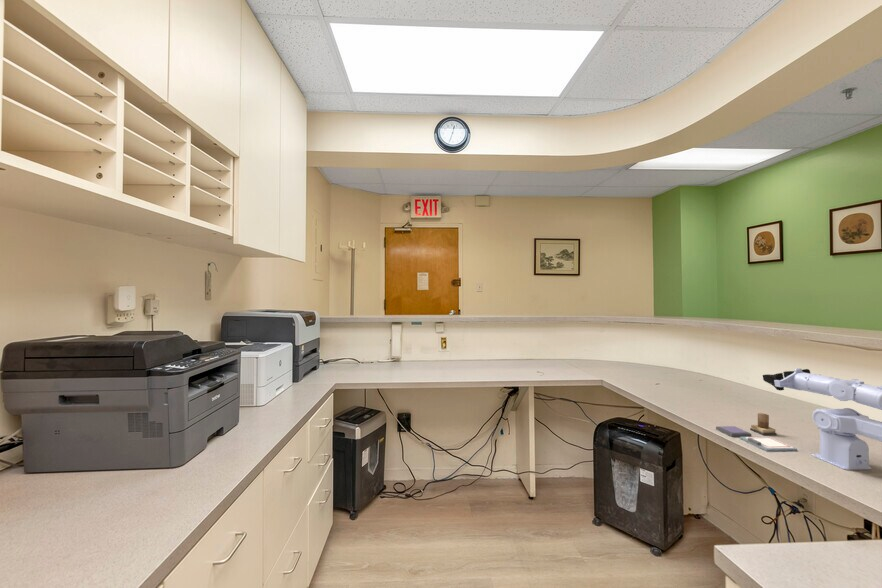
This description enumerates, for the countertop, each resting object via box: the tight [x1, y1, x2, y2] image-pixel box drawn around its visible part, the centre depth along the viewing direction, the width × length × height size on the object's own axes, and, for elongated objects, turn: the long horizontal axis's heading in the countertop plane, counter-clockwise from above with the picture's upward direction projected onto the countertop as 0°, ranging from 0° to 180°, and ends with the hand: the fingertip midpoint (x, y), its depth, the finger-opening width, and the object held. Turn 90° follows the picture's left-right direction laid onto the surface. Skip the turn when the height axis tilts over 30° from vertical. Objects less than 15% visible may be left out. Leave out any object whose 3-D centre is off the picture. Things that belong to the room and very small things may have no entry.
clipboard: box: [739, 435, 798, 452], centre depth 121 cm, size 10×10×1 cm
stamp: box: [749, 412, 777, 436], centre depth 131 cm, size 5×5×6 cm
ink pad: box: [715, 425, 752, 438], centre depth 131 cm, size 7×7×1 cm
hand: (774, 376), depth 129 cm, fingers open, 7 cm apart
